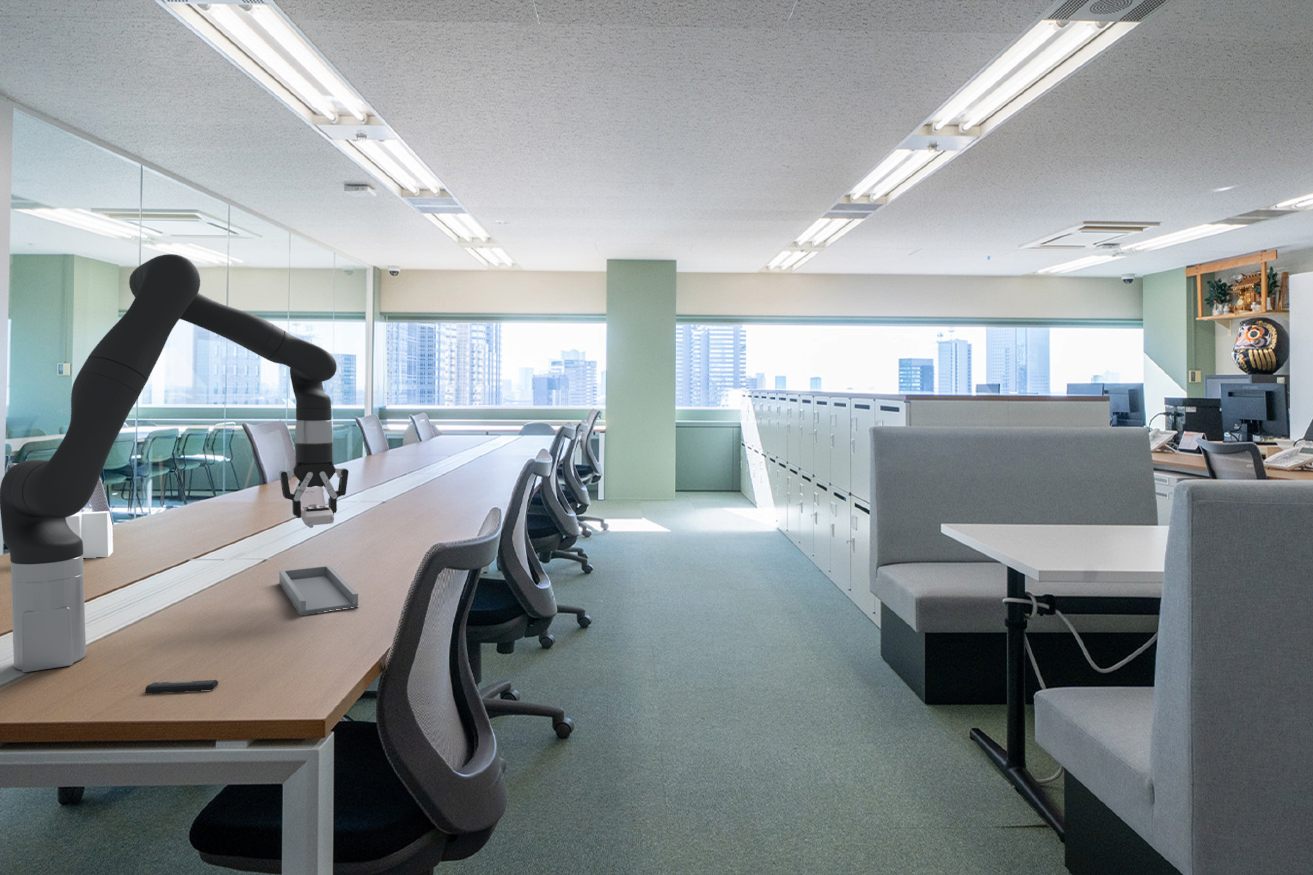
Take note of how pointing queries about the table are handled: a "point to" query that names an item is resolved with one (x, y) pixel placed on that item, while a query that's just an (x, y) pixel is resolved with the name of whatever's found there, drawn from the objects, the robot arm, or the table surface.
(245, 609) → the table surface
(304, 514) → the mobile phone
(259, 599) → the table surface
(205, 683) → the dark grey rounded bar
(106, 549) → the corner bracket
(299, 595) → the phone dock
